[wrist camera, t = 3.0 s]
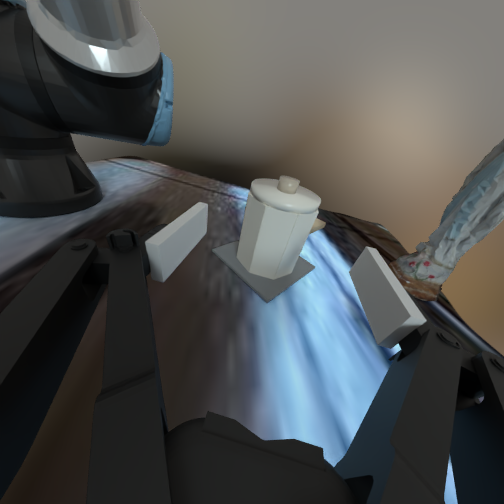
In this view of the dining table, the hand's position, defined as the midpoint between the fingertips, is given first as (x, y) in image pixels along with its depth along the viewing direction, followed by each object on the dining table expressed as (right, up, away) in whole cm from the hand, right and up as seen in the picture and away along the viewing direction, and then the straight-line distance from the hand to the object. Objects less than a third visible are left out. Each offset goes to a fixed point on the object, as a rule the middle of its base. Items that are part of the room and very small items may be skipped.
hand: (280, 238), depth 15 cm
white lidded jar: (0, -2, +14) cm, 14 cm away
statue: (+25, -7, +17) cm, 31 cm away
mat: (0, -2, +14) cm, 14 cm away
